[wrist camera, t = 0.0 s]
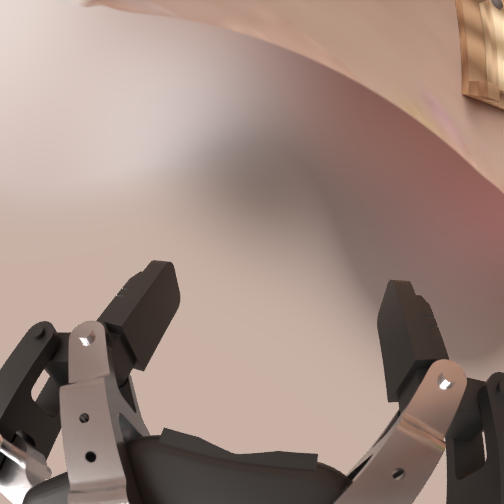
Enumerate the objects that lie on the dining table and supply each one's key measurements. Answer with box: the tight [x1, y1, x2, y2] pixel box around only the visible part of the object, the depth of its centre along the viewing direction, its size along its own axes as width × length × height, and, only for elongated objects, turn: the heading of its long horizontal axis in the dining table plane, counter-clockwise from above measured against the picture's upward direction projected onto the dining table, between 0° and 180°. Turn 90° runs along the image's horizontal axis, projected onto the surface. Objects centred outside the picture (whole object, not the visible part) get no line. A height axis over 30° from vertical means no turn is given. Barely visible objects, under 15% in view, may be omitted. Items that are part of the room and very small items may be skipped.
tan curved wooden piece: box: [479, 0, 504, 94], centre depth 16 cm, size 15×2×4 cm, turn 2°
